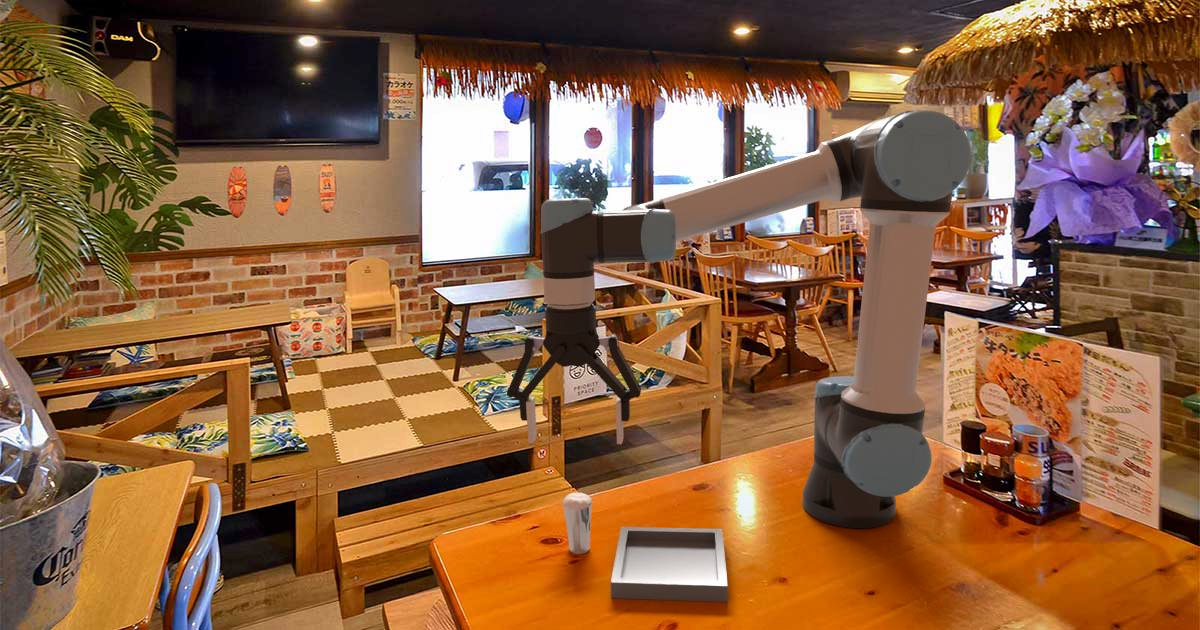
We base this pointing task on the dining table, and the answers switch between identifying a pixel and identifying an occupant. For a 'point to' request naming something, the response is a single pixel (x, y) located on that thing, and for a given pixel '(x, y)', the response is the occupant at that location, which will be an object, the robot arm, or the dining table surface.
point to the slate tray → (670, 564)
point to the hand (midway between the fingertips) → (576, 440)
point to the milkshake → (578, 521)
